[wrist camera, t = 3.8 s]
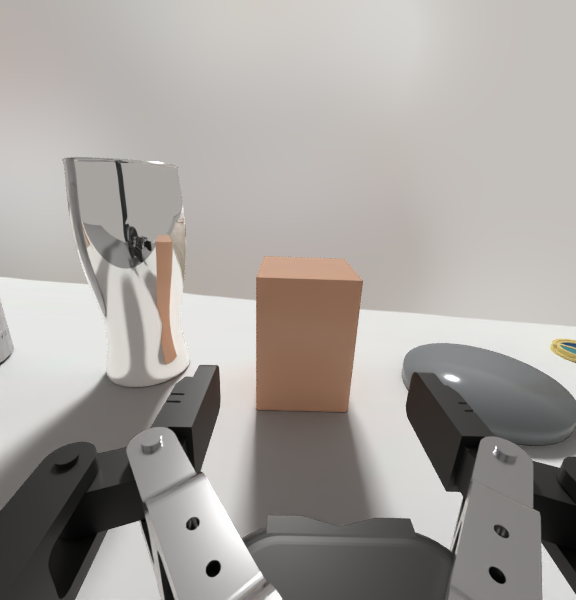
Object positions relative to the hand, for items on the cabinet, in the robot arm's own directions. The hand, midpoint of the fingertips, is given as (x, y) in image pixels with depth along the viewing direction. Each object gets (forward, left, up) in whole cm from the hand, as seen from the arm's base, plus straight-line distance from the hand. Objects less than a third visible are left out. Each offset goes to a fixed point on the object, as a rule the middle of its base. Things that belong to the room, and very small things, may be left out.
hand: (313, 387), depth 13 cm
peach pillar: (0, +9, -6) cm, 11 cm away
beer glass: (-12, +11, -6) cm, 17 cm away
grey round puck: (+14, +9, -6) cm, 17 cm away
